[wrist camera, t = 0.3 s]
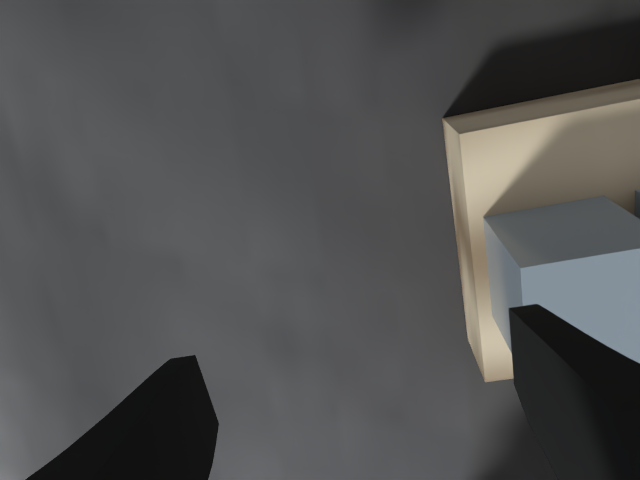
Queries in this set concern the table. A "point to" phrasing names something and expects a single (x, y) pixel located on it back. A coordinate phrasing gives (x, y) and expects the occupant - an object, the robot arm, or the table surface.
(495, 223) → the blue-grey cube
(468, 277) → the beige piece
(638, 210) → the block
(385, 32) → the table surface
